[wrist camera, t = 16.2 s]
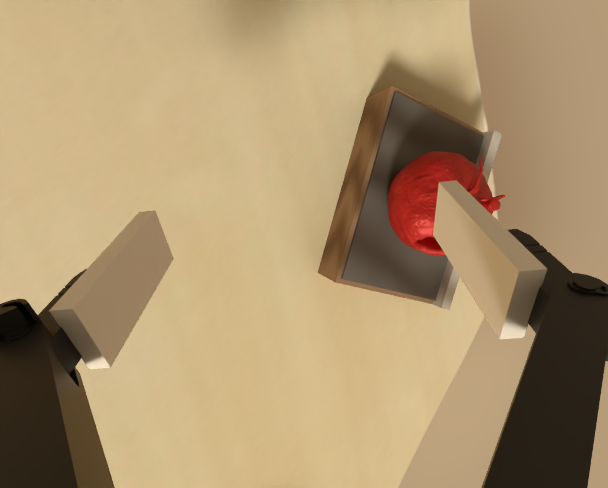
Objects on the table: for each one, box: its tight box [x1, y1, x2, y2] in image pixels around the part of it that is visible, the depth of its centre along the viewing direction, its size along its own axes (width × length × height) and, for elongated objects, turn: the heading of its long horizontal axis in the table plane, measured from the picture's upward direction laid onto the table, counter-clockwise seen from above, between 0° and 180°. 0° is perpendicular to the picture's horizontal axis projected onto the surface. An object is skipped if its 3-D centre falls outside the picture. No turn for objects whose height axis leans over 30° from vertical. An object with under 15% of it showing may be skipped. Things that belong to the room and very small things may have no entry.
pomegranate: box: [388, 151, 505, 256], centre depth 31 cm, size 10×10×9 cm
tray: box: [318, 86, 501, 310], centre depth 37 cm, size 20×14×6 cm
